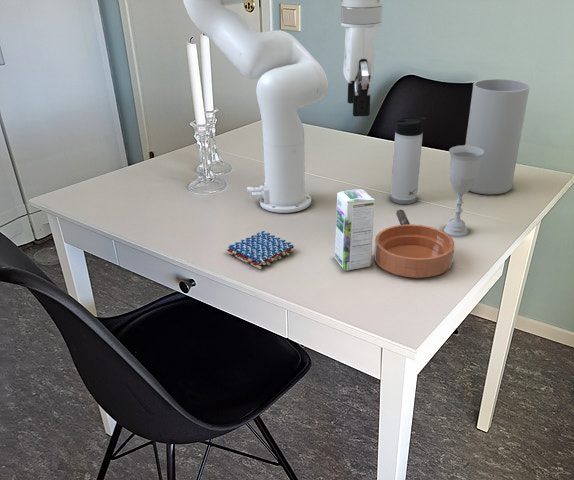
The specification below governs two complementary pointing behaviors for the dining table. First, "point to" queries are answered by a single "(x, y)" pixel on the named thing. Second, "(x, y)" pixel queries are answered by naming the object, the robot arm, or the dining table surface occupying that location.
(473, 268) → the dining table surface
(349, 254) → the syrup box
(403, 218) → the pan handle
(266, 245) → the woven mat
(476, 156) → the chalice
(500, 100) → the cylinder vase
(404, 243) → the pan
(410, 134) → the travel mug
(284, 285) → the dining table surface
